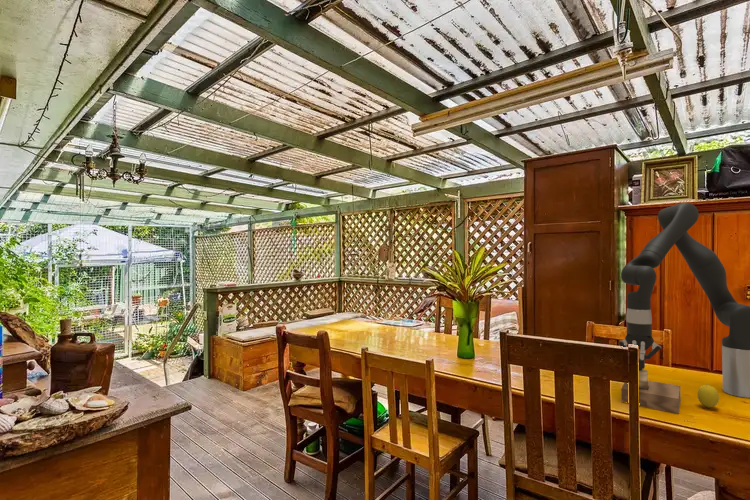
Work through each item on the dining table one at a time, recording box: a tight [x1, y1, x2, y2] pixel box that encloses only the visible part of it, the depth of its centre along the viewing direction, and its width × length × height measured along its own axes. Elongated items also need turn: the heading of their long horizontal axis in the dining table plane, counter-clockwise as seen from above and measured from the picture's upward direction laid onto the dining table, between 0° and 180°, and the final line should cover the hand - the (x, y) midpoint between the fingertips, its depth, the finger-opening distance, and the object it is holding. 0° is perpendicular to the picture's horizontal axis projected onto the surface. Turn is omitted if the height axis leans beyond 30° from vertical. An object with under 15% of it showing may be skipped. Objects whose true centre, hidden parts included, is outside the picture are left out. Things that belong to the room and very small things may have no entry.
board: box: [620, 380, 682, 415], centre depth 138 cm, size 16×15×5 cm
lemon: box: [697, 383, 720, 409], centre depth 131 cm, size 6×6×8 cm
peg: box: [639, 368, 649, 390], centre depth 138 cm, size 4×4×11 cm
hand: (639, 369), depth 138 cm, fingers closed
